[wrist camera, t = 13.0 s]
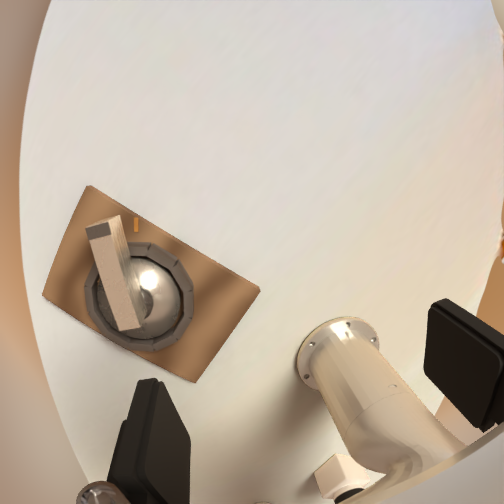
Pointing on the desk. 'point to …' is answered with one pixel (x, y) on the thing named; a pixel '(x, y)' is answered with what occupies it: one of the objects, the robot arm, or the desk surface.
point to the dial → (132, 284)
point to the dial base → (203, 270)
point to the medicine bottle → (341, 478)
